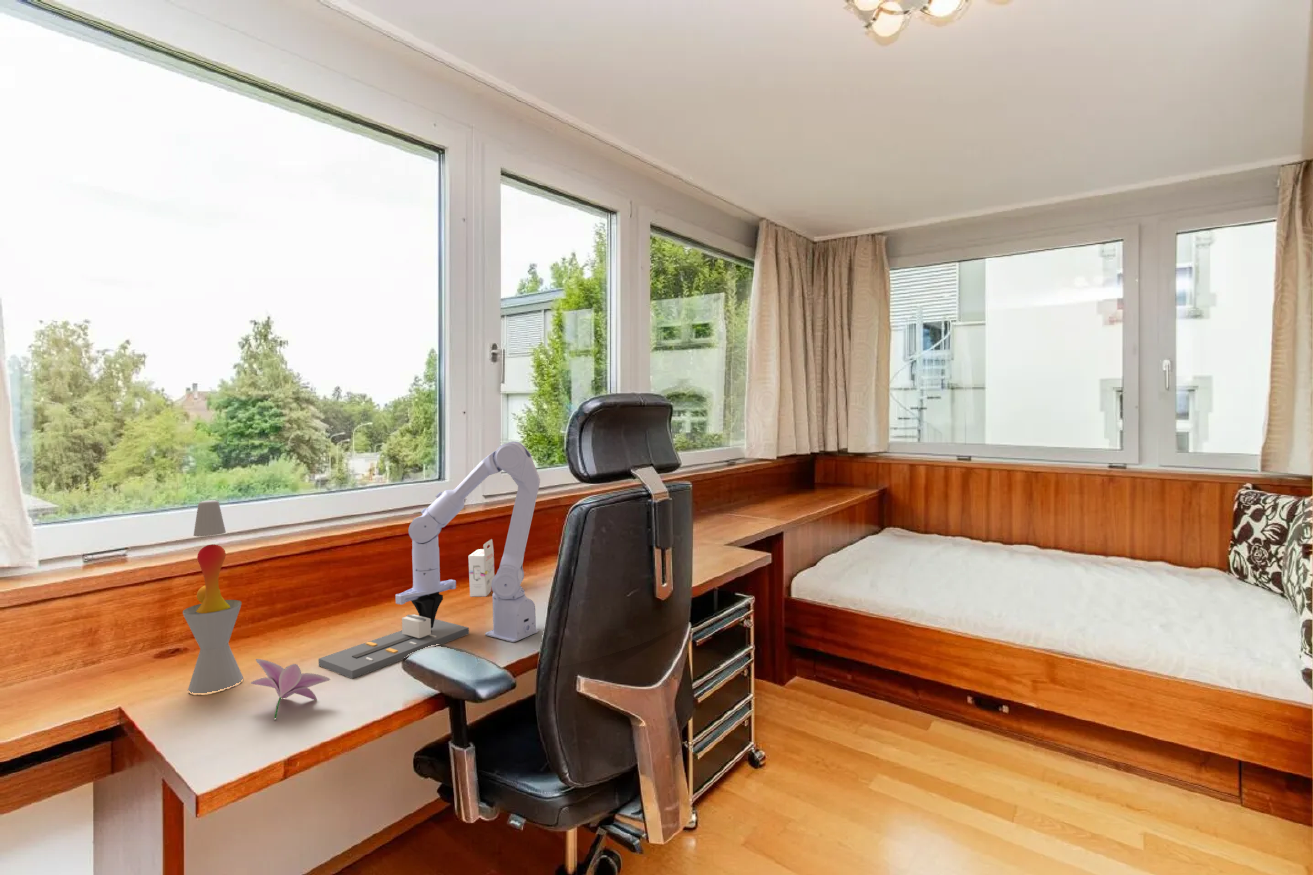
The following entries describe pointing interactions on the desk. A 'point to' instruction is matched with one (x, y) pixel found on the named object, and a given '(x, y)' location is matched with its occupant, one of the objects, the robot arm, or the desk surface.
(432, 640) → the board
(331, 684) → the desk surface
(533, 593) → the desk surface
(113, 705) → the desk surface
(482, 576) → the ink cartridge box
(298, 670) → the lily
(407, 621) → the fader tab
